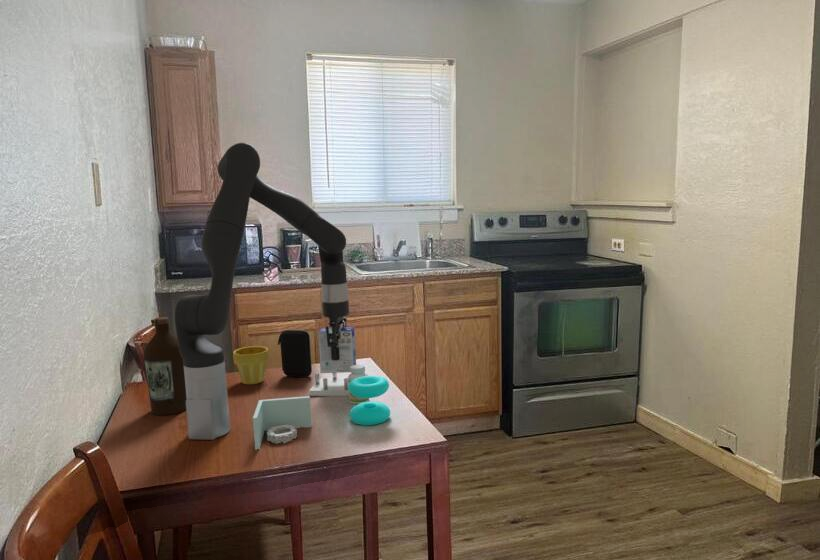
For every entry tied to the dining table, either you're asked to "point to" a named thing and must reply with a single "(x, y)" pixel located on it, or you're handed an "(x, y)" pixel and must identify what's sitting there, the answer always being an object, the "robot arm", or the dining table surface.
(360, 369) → the supplement bottle
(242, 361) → the plant pot
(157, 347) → the olive oil
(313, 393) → the pin tray
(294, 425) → the right angle wall
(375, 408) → the donuts
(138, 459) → the dining table surface
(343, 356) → the ink cartridge box
